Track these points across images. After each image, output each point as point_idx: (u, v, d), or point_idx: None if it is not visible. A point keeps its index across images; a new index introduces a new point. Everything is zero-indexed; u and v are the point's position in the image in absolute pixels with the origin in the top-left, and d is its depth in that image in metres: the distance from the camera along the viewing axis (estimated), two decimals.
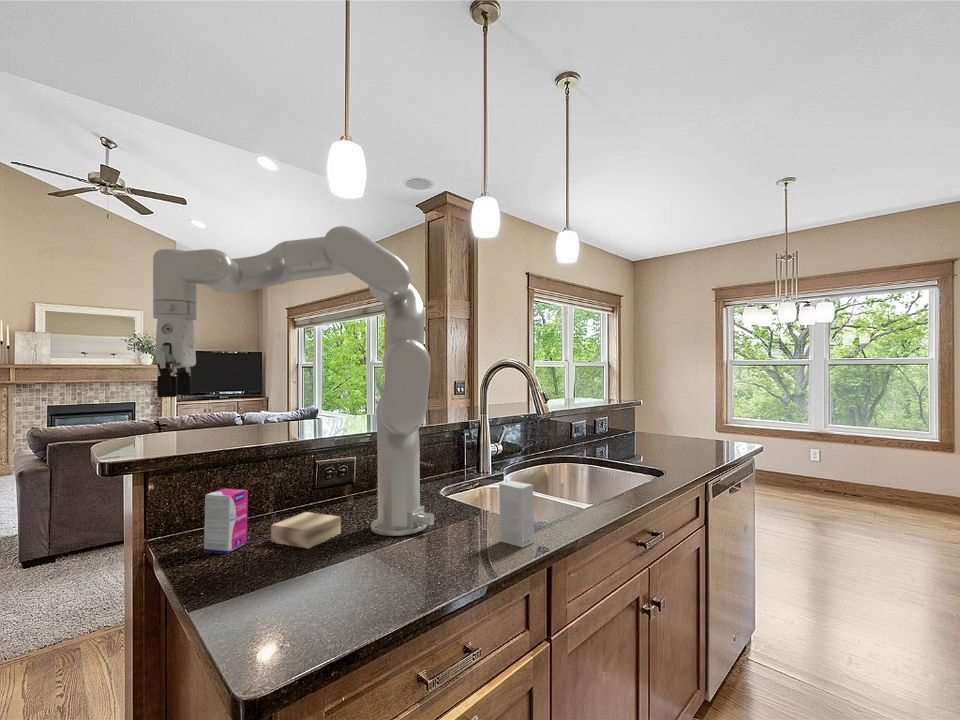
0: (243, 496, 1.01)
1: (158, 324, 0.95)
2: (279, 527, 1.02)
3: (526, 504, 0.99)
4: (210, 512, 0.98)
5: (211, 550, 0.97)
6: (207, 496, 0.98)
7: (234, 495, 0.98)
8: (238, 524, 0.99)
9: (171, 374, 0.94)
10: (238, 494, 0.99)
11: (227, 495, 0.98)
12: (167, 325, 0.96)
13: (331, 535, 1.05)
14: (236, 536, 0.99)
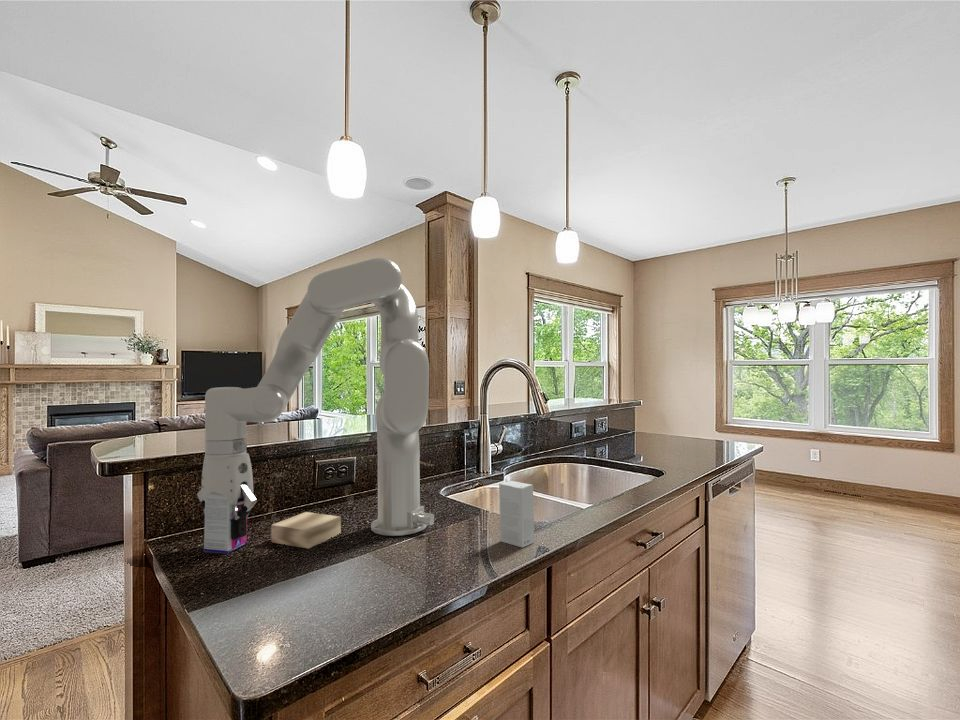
0: None
1: (234, 465, 0.97)
2: (279, 527, 1.02)
3: (526, 504, 0.99)
4: (210, 512, 0.98)
5: (211, 550, 0.97)
6: (207, 495, 0.98)
7: None
8: None
9: (247, 515, 0.99)
10: None
11: None
12: None
13: (331, 535, 1.05)
14: None
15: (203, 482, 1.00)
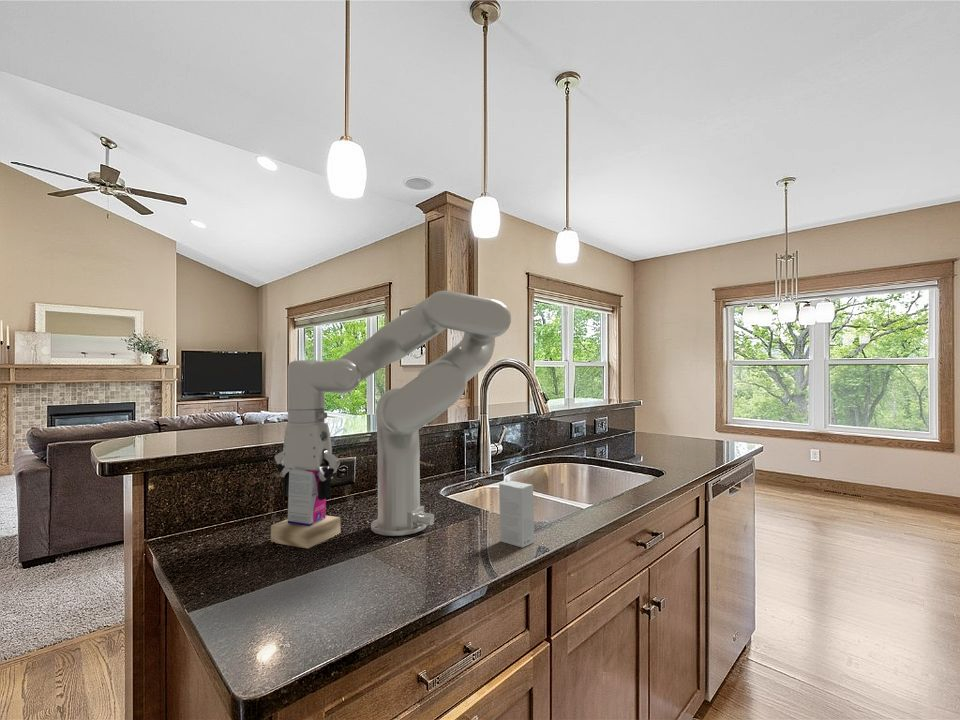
0: None
1: (316, 432, 1.03)
2: (278, 527, 1.02)
3: (526, 504, 0.99)
4: (293, 486, 1.03)
5: (294, 522, 1.03)
6: (291, 471, 1.03)
7: None
8: (318, 499, 1.05)
9: (332, 477, 1.04)
10: None
11: (309, 471, 1.03)
12: None
13: (331, 536, 1.05)
14: (317, 510, 1.04)
15: (285, 450, 1.05)
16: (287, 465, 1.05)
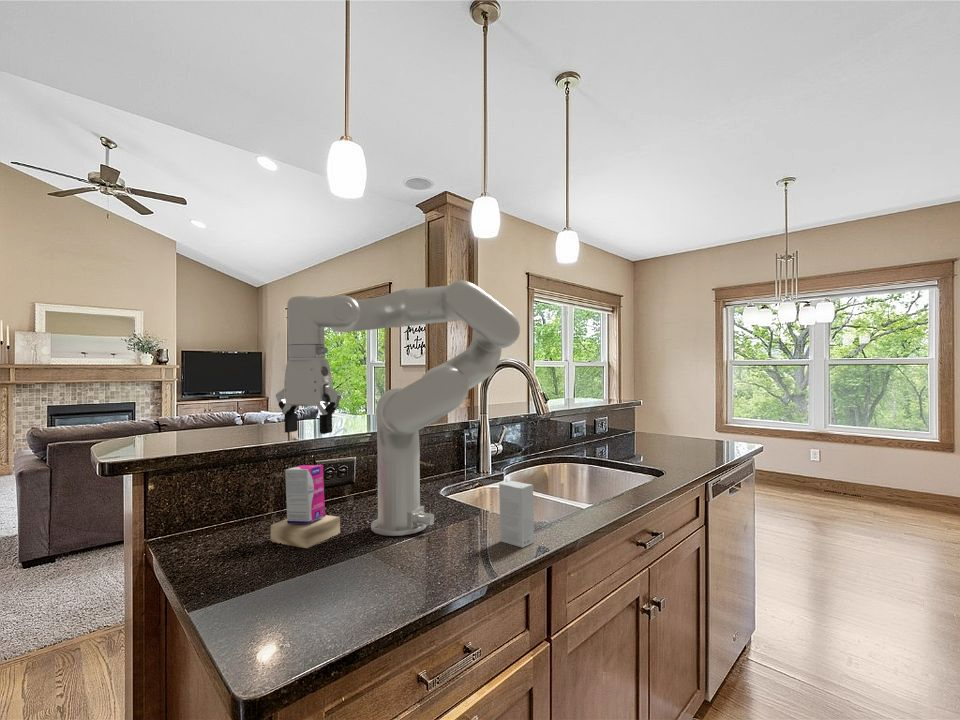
0: (319, 470, 1.07)
1: (317, 367, 1.03)
2: (278, 527, 1.03)
3: (526, 504, 0.99)
4: (290, 485, 1.04)
5: (293, 521, 1.03)
6: (287, 470, 1.04)
7: (311, 469, 1.04)
8: (316, 497, 1.05)
9: (333, 412, 1.05)
10: (314, 468, 1.05)
11: (305, 469, 1.03)
12: None
13: (330, 535, 1.06)
14: (315, 507, 1.05)
15: (286, 386, 1.06)
16: (288, 401, 1.06)
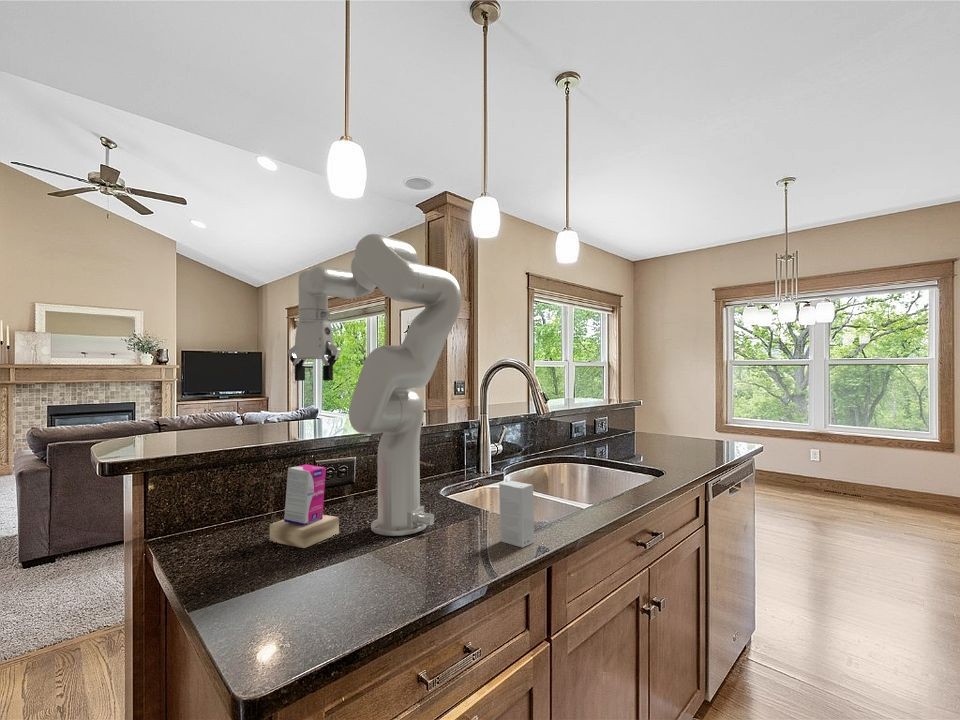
0: (321, 473, 1.06)
1: (321, 327, 1.29)
2: (276, 526, 1.03)
3: (526, 504, 0.99)
4: (291, 485, 1.03)
5: (290, 521, 1.03)
6: (289, 469, 1.04)
7: (313, 471, 1.03)
8: (315, 499, 1.04)
9: (334, 364, 1.31)
10: (317, 470, 1.04)
11: (307, 470, 1.03)
12: None
13: (329, 535, 1.05)
14: (313, 510, 1.04)
15: (296, 343, 1.32)
16: (298, 355, 1.32)
